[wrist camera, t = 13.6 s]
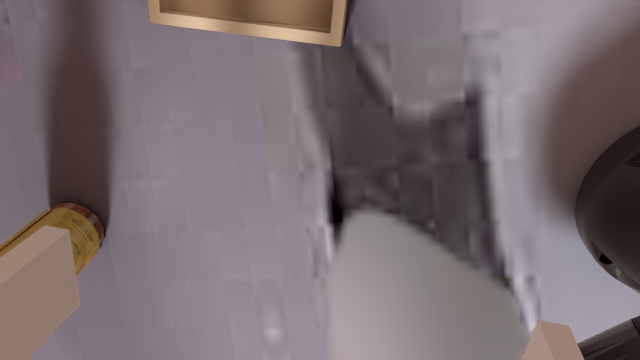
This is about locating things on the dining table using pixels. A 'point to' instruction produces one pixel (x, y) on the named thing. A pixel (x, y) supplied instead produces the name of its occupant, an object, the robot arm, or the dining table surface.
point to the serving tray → (258, 18)
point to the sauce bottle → (71, 217)
